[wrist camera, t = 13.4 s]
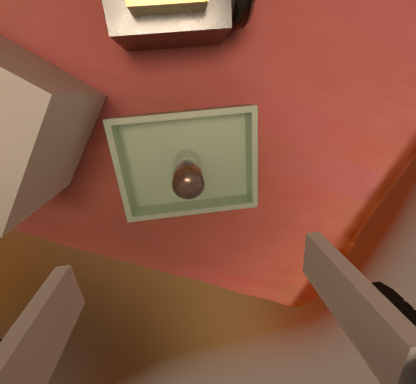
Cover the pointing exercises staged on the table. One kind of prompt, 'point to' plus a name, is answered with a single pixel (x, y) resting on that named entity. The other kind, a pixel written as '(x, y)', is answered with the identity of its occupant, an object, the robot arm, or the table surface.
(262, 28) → the table surface
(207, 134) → the tray
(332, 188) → the table surface
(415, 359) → the robot arm
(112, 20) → the block
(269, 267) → the table surface
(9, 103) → the grey box
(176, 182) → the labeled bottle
